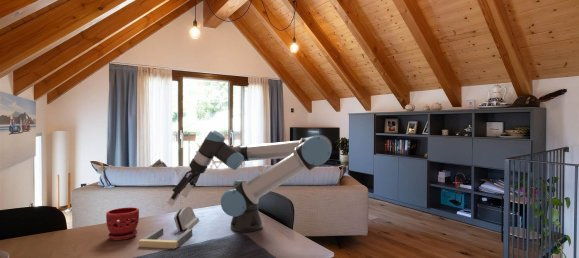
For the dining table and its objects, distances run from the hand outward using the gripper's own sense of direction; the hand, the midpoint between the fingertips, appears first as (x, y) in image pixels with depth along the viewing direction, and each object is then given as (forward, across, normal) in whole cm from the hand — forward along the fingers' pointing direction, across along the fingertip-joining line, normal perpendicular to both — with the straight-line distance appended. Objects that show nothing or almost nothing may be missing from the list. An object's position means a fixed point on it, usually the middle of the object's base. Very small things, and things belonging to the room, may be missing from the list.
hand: (176, 200), depth 146 cm
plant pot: (+26, +6, -10) cm, 28 cm away
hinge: (+14, -10, +9) cm, 19 cm away
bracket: (+13, +8, +8) cm, 17 cm away
